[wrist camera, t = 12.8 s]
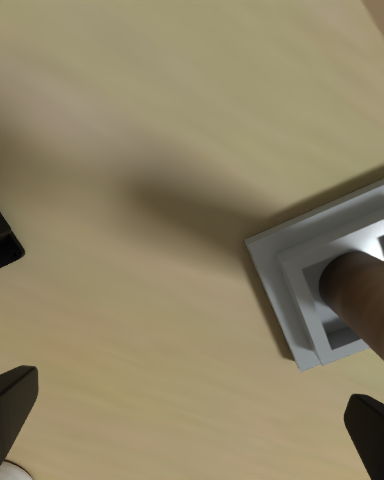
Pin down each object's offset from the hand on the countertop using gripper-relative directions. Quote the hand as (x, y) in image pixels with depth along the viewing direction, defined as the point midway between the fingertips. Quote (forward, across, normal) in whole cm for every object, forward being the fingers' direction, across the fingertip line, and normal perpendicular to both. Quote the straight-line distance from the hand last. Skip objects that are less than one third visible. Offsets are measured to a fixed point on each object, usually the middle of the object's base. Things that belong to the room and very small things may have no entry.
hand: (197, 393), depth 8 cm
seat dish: (+13, +12, -1) cm, 18 cm away
